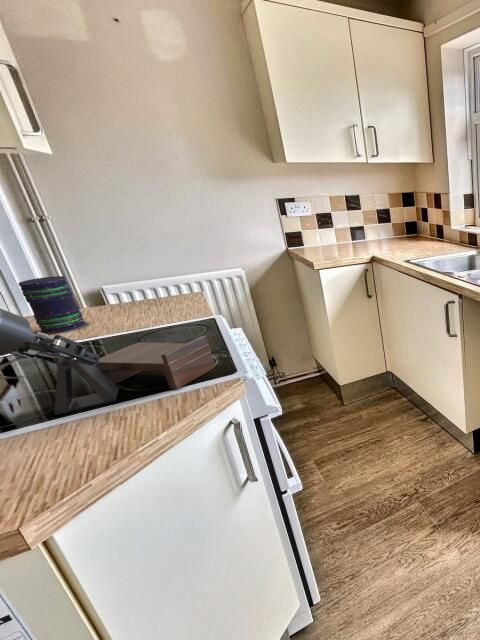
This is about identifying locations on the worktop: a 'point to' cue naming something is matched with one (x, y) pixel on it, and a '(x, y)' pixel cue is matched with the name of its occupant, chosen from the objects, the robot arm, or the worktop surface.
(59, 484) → the worktop surface
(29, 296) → the blue green striped cylinder
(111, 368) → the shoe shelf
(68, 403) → the phone stand
